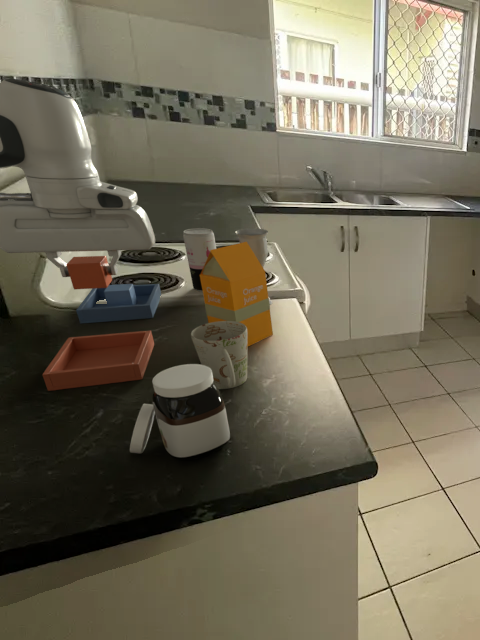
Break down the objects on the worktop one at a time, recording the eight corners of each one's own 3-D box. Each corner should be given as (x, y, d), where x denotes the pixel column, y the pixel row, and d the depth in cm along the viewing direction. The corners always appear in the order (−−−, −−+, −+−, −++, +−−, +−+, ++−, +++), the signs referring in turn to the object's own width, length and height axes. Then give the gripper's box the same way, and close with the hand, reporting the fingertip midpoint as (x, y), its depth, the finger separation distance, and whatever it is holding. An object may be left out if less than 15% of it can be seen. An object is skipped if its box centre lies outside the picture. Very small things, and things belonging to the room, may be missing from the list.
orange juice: (211, 341, 98) (193, 246, 89) (245, 327, 105) (232, 238, 97) (241, 350, 96) (226, 254, 87) (274, 334, 103) (262, 244, 95)
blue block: (109, 310, 105) (103, 291, 103) (113, 303, 109) (108, 284, 107) (134, 308, 107) (129, 290, 105) (137, 301, 111) (132, 283, 109)
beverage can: (219, 282, 128) (210, 227, 122) (225, 290, 124) (216, 233, 118) (191, 286, 124) (180, 229, 118) (196, 293, 120) (184, 235, 114)
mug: (247, 365, 91) (240, 317, 86) (266, 395, 82) (259, 344, 78) (197, 376, 86) (186, 326, 81) (211, 409, 77) (200, 355, 73)
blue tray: (80, 323, 100) (75, 310, 98) (96, 299, 111) (93, 287, 110) (153, 318, 105) (149, 305, 104) (161, 295, 117) (159, 283, 116)
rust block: (73, 289, 81) (66, 264, 79) (80, 281, 84) (73, 256, 82) (107, 287, 83) (100, 262, 81) (112, 279, 86) (106, 255, 84)
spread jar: (240, 450, 69) (228, 381, 64) (147, 487, 61) (125, 411, 56) (209, 414, 76) (196, 349, 71) (122, 443, 68) (101, 372, 63)
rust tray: (48, 391, 77) (42, 374, 76) (73, 352, 89) (68, 337, 88) (142, 379, 83) (138, 363, 82) (154, 344, 95) (151, 330, 93)
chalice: (247, 298, 120) (237, 227, 113) (277, 297, 122) (269, 228, 115) (244, 309, 114) (233, 235, 106) (275, 308, 116) (266, 235, 109)
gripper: (-29, 195, 70) (3, 284, 76) (141, 198, 79) (158, 277, 85) (-12, 188, 75) (18, 272, 81) (147, 192, 84) (163, 267, 90)
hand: (91, 275), depth 83 cm, fingers closed on rust block, 4 cm apart
